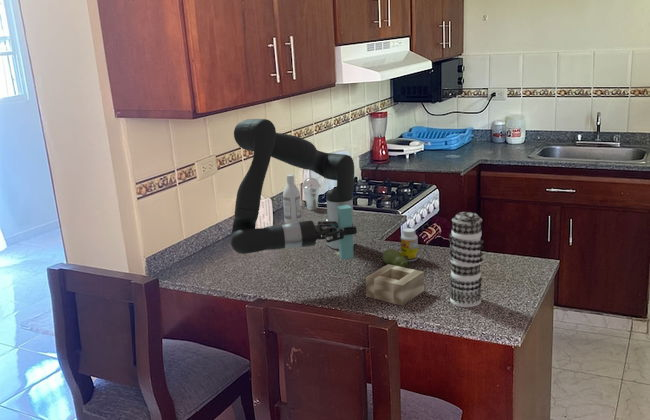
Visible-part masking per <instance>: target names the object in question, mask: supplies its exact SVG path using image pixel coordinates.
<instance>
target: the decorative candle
mask: <svg viewBox="0 0 650 420" xmlns="http://www.w3.org/2000/svg"><path fill="white" fill-rule="evenodd" d="M451 221H452V222H451V225H452V226H451V232H449V234H448V236H449V240H448V242H449V248H448V249H450V250H449V255H450V258H449V261H450V263H451V270H450V277H449V280H450V282H449V285H450V287H449V292H450V293H449V297H450V299H449V301H450V303H451V304H452V305H454V306H457V307H462V308H474V307H477V306H479V305H481V303H482V288H481V287H482V285H483V284H482V280H483V278H482V276H481V273H482V271H481V264H482V263H483V258H482V256H483V252H482V250H484V245H483V244H484V242H485V241H484V239H482V238H481V237H482V233H483V231H482V222H483V219H482V218H481V217H480V216H479V215H478V213H476V212H472V211H462V212H461V211H460V212H457V213H456V214H455V216H454V217H452V218H451Z"/></svg>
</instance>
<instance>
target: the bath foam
mask: <svg viewBox="0 0 650 420" xmlns="http://www.w3.org/2000/svg"><path fill="white" fill-rule="evenodd" d="M282 201H283V217H284V219H283V220H284V224H287V223H294V222H303V221H302V204H301V193H300V190H299V188H298V186H297V185H296V184H295V175H294V174H287V175H286V185H285V187H284V189H283V192H282Z"/></svg>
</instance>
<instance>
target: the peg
mask: <svg viewBox="0 0 650 420" xmlns="http://www.w3.org/2000/svg"><path fill="white" fill-rule="evenodd" d="M337 217H338V228H346V227H352V208H351V207H350V206H349V205H341V206H337ZM338 234H340V233H338ZM338 255H339V258H340V259H341V260H342V261H344V260H353V259H354V258H355V257H354V246H353V234H352V235H345V236H344V238H343V239H340V240H339V249H338Z"/></svg>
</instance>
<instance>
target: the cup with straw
mask: <svg viewBox="0 0 650 420" xmlns="http://www.w3.org/2000/svg"><path fill="white" fill-rule="evenodd" d="M308 171H309V174H308V175H309V177H308V178H306V179H305V180H304V181H303V184H302V185H301V189H302V190H303V193H304V198H305V203H306V204H305V205H306V209H307V210H309V211H310V210H311V211H313V210H318V205H319V192H320V188H321V184H320V183H319V180H317V179H316V178H314V177H312V171H311V170H308Z"/></svg>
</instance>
